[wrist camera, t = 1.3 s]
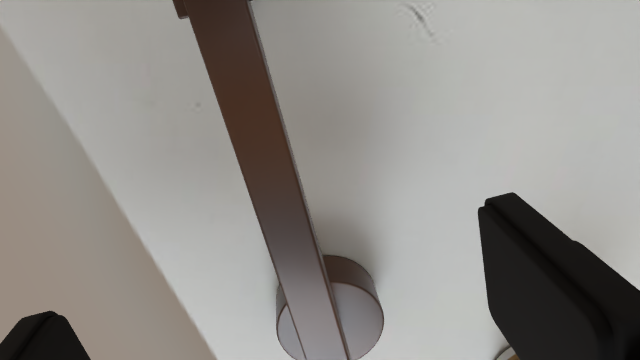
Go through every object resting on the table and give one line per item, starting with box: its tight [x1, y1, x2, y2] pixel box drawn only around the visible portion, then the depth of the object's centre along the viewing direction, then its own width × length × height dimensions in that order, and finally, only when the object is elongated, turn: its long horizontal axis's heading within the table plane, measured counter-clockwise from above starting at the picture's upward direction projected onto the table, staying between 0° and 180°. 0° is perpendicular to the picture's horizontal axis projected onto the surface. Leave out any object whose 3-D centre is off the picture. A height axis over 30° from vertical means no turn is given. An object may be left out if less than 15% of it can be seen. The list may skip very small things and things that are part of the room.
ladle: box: [173, 0, 384, 360], centre depth 19 cm, size 20×6×8 cm, turn 14°
